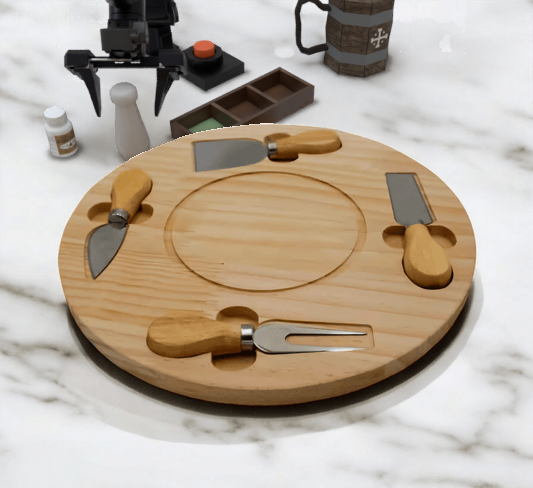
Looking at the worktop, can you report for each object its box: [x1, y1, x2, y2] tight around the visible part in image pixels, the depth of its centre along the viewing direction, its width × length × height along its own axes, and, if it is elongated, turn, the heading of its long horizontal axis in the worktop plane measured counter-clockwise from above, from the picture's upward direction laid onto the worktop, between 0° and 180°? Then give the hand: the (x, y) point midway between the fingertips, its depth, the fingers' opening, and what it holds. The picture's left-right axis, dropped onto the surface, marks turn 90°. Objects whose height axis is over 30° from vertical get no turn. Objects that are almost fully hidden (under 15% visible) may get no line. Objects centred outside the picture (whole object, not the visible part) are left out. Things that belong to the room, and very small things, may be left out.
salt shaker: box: [109, 81, 151, 162], centre depth 105 cm, size 6×6×13 cm
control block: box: [179, 43, 245, 92], centre depth 127 cm, size 12×10×4 cm
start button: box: [192, 39, 215, 58], centre depth 126 cm, size 4×4×2 cm
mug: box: [294, 0, 396, 79], centre depth 126 cm, size 20×14×15 cm
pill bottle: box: [43, 105, 79, 158], centre depth 108 cm, size 4×4×8 cm
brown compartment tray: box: [169, 66, 316, 140], centre depth 116 cm, size 9×26×4 cm, turn 133°
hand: (127, 116), depth 104 cm, fingers open, 9 cm apart
